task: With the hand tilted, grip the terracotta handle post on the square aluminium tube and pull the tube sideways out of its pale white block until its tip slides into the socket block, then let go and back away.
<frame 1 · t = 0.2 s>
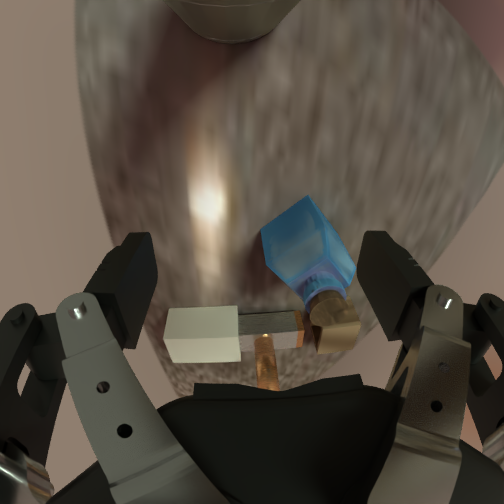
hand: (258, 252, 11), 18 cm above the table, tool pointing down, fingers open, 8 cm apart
pale white block: (205, 320, 38), on the table
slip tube: (240, 365, 32), point 8 cm above the table, slide at 0.0 cm
perfume bottle: (300, 230, 31), on the table
socket block: (329, 311, 39), on the table
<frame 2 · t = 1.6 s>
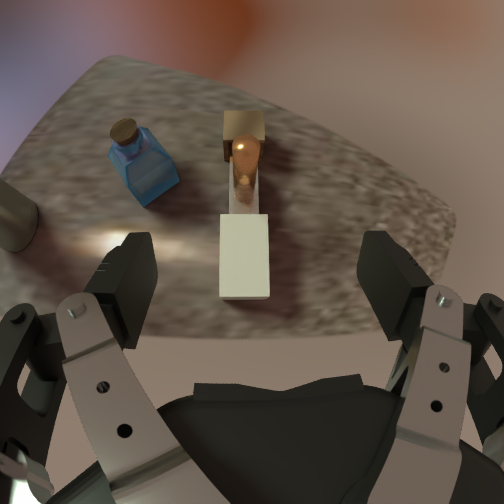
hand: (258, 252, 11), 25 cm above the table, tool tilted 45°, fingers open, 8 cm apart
pale white block: (243, 263, 36), on the table
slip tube: (244, 206, 30), point 8 cm above the table, slide at 0.0 cm
perfume bottle: (151, 179, 38), on the table
socket block: (243, 146, 40), on the table
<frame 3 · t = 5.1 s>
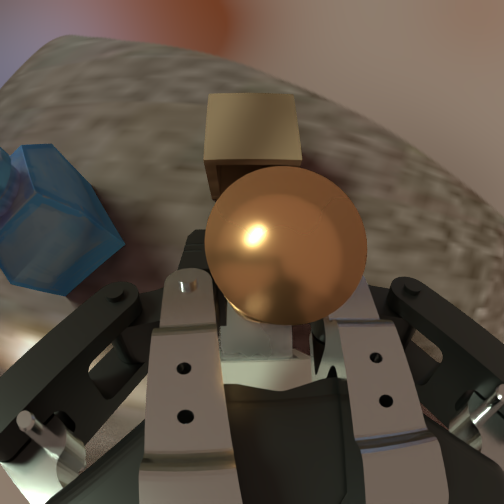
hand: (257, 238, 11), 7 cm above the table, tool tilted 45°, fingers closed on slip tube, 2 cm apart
pale white block: (254, 416, 16), on the table
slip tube: (261, 370, 10), point 8 cm above the table, slide at 0.0 cm, touching gripper
perfume bottle: (77, 239, 19), on the table
socket block: (249, 167, 20), on the table
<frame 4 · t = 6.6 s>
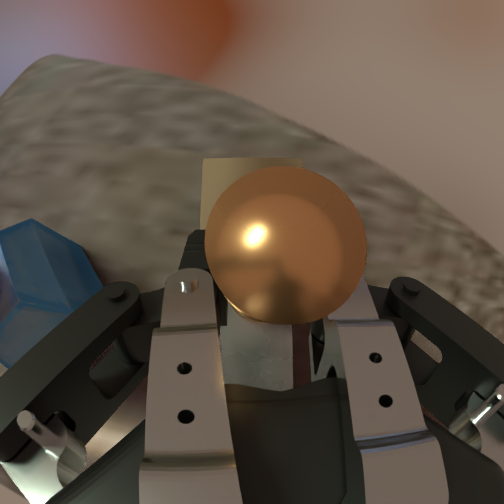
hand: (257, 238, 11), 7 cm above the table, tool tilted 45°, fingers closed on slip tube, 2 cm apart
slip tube: (262, 370, 10), point 8 cm above the table, slide at 4.9 cm, touching gripper
perfume bottle: (72, 305, 18), on the table
socket block: (250, 232, 19), on the table
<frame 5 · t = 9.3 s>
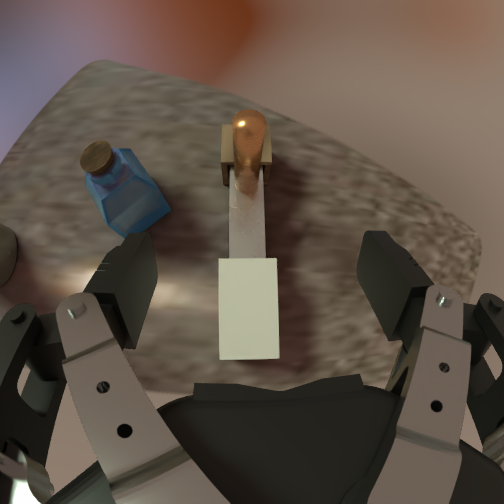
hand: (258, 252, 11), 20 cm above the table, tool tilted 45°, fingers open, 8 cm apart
pale white block: (247, 310, 30), on the table
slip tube: (247, 196, 25), point 8 cm above the table, slide at 5.0 cm
perfume bottle: (138, 207, 33), on the table
socket block: (245, 166, 34), on the table
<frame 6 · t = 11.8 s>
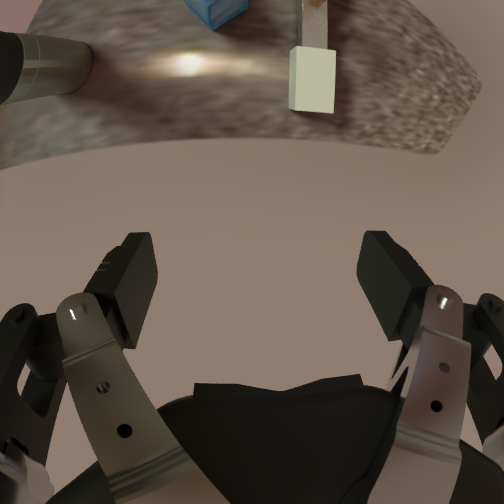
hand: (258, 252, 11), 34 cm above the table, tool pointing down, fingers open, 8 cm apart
pale white block: (307, 80, 36), on the table
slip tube: (321, 11, 24), point 8 cm above the table, slide at 5.0 cm
perfume bottle: (217, 6, 29), on the table
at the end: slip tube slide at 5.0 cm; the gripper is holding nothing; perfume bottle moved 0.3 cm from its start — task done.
